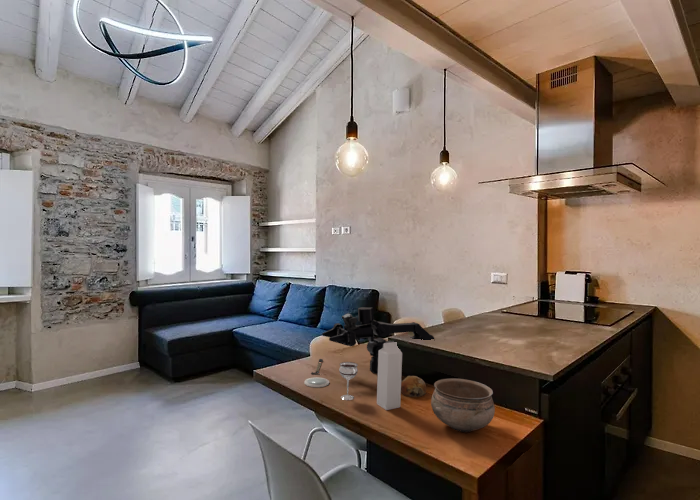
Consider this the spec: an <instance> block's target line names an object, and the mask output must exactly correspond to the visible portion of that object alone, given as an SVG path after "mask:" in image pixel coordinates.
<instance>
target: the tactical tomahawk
mask: <svg viewBox="0 0 700 500" xmlns="http://www.w3.org/2000/svg"><path fill="white" fill-rule="evenodd" d="M319 362H322V363H323V362H324V358H319V359H318V363H317V366H316V369H315V372H313V371H311V373H310V374H311V375H313V376H314V375H315V376H321V375H320V374H318V373H319V372H320V368H321V367H320V366H322V364H321V363H319Z"/></svg>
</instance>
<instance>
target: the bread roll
mask: <svg viewBox="0 0 700 500" xmlns="http://www.w3.org/2000/svg"><path fill="white" fill-rule="evenodd" d="M401 394H402V396H405V397H409V398H410V397H411V398H419V397H423V396H425V394H427V385H426V382H425V381H424V380H423V379H422V378H421V377H418V376H417V375H407V376H406V377H405V378H404V379H403V380H402V379H401Z"/></svg>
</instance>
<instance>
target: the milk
mask: <svg viewBox="0 0 700 500" xmlns="http://www.w3.org/2000/svg"><path fill="white" fill-rule="evenodd" d="M402 365H403V352H402V351H401V349H399V348H398V346H397V342H391V343H384V344H383V348H382V349H380V350H379V352H378V373H377V385H376V386H377V387H376V405H378V406H379V407H380V408H382V409H384V410H385V411H390V410H393V409H398V408H401V394H402V393H401V381H402V372H403V371H402V370H403V369H402V368H403V367H402Z"/></svg>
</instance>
